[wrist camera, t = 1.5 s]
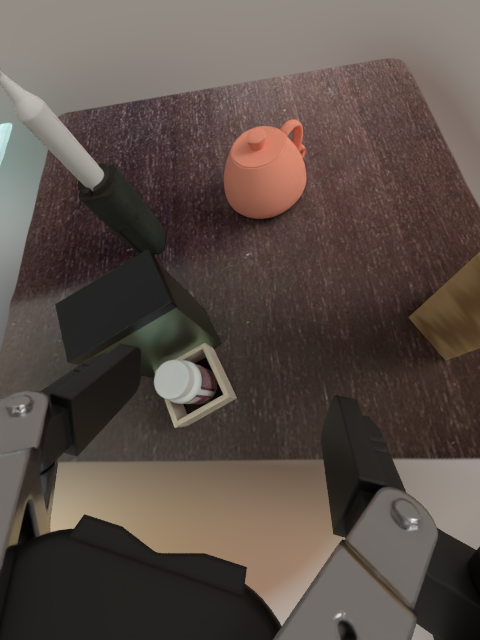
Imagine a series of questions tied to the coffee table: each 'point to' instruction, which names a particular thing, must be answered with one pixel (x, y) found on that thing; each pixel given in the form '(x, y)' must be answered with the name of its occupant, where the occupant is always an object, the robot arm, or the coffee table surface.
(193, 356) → the dock
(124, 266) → the dispenser
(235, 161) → the sugar bowl
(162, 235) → the candle
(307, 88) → the coffee table surface
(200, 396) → the pill bottle
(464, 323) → the stand
